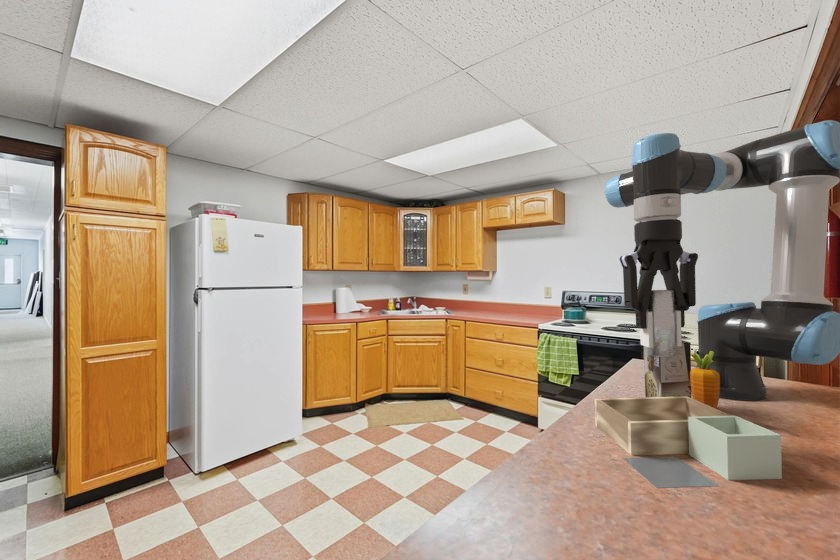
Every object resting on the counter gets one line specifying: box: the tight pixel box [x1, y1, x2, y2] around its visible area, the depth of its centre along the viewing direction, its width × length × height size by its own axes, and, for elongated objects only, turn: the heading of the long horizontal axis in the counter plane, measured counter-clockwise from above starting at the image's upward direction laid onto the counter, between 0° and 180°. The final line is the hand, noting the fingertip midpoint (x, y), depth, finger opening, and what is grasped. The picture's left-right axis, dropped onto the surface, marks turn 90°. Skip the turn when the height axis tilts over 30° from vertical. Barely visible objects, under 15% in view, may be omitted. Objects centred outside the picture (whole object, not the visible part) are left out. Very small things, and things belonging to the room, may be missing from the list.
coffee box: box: [643, 339, 692, 398], centre depth 87 cm, size 9×6×16 cm
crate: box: [594, 396, 732, 456], centre depth 71 cm, size 19×13×6 cm
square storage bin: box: [688, 415, 783, 481], centre depth 60 cm, size 8×8×7 cm
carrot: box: [690, 351, 720, 410], centre depth 78 cm, size 5×5×15 cm
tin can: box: [647, 289, 676, 357], centre depth 71 cm, size 5×5×12 cm
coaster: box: [622, 456, 720, 489], centre depth 59 cm, size 9×9×1 cm
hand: (660, 345), depth 71 cm, fingers closed on tin can, 4 cm apart
